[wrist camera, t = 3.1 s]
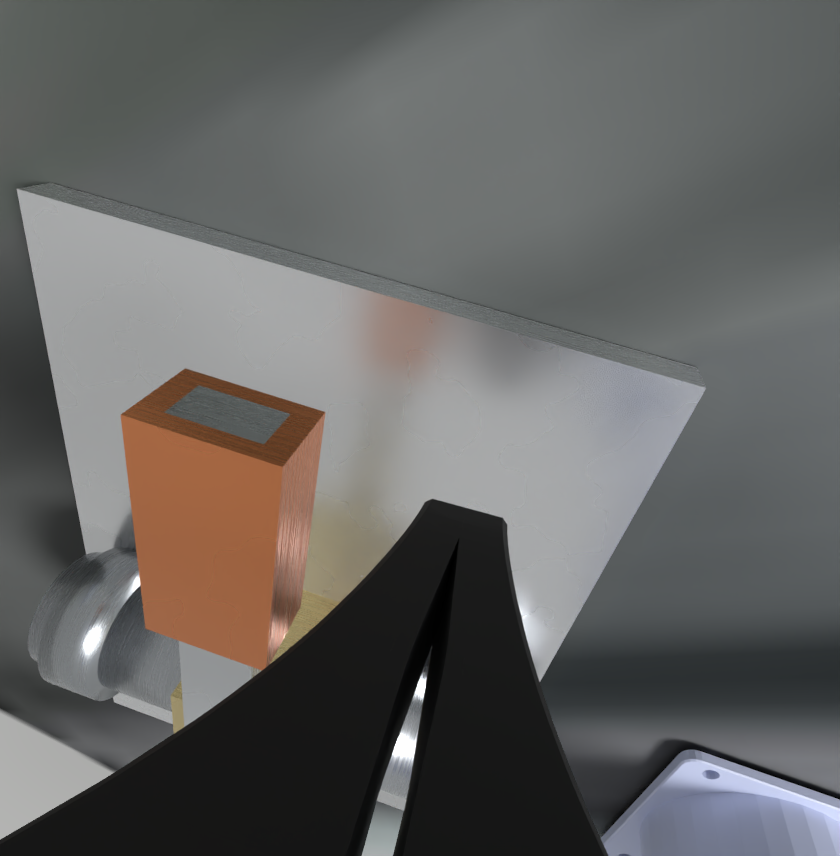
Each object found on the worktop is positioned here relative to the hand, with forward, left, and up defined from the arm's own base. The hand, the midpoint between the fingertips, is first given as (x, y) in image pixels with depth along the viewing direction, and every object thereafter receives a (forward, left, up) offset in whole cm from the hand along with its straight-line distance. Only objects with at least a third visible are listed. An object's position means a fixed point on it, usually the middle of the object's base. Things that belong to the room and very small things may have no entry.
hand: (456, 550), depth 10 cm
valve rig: (+4, +9, -5) cm, 11 cm away
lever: (+4, +4, +1) cm, 6 cm away
